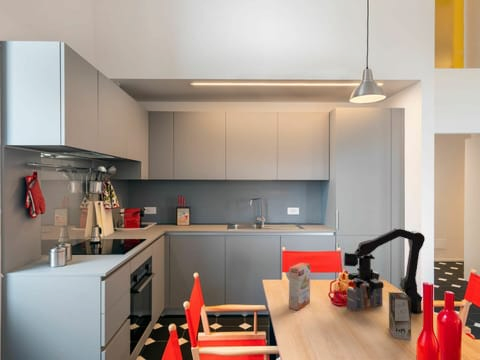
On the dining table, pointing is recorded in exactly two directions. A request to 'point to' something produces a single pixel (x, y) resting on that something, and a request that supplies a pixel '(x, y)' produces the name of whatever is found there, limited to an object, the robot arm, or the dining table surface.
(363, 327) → the dining table surface
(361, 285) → the domino
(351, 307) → the domino
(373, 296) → the domino
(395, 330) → the coffee box
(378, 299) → the domino
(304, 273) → the cracker box
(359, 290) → the domino
